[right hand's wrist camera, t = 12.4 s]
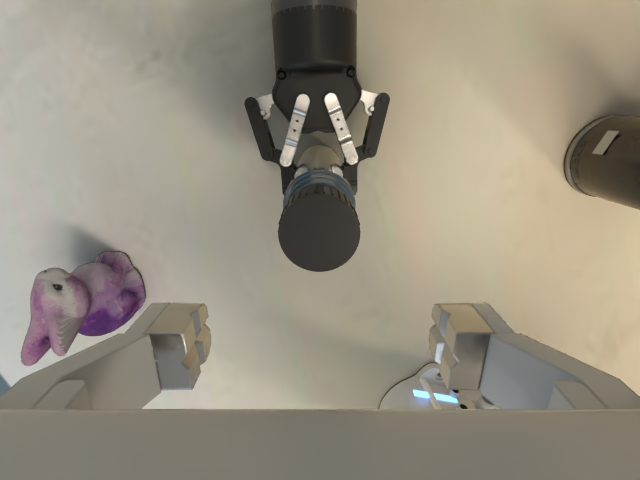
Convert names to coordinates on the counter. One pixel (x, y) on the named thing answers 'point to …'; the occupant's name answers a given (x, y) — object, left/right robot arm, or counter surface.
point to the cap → (319, 228)
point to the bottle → (319, 173)
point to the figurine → (81, 304)
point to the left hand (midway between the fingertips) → (320, 199)
